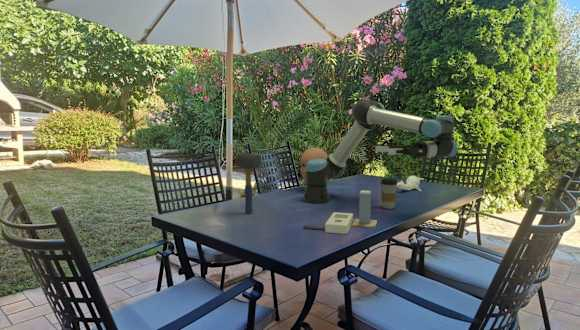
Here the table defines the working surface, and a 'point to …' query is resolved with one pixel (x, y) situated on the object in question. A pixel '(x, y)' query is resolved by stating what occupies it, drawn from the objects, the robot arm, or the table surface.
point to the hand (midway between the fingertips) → (381, 150)
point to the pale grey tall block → (364, 207)
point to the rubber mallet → (248, 174)
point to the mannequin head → (310, 158)
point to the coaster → (372, 224)
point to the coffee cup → (388, 192)
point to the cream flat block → (336, 223)
